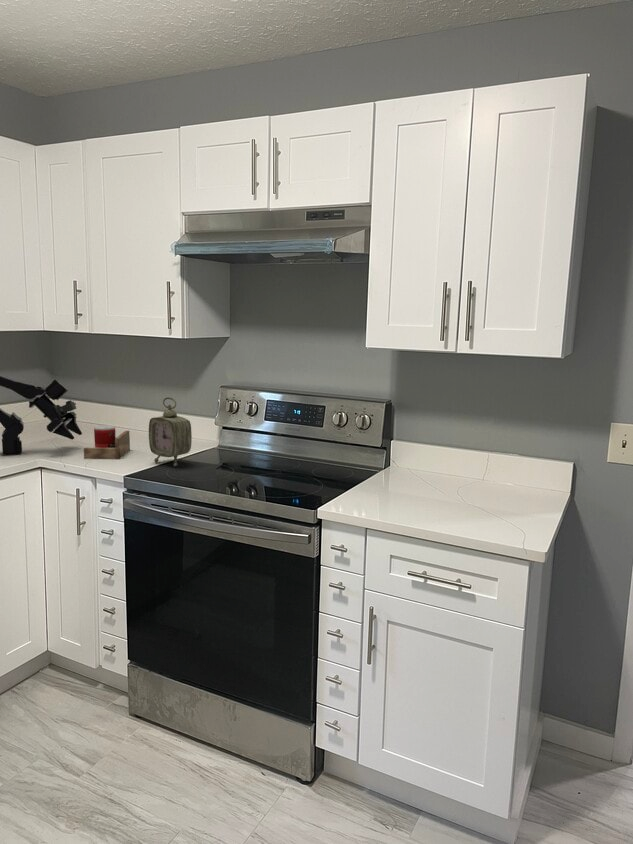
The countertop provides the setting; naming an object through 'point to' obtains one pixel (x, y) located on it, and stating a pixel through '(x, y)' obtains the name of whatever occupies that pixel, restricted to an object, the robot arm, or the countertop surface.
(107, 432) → the canned food
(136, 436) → the countertop surface
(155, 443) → the tabletop clock
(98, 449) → the cradle
